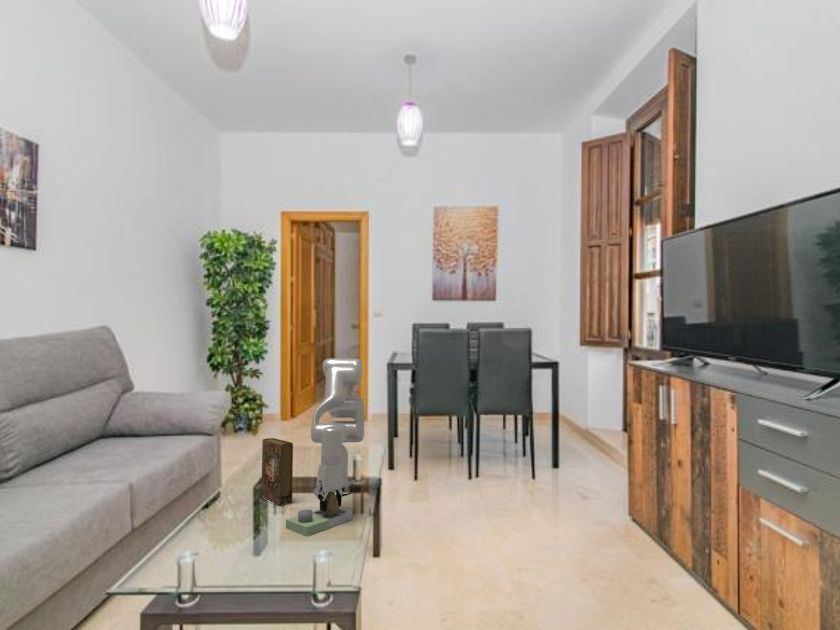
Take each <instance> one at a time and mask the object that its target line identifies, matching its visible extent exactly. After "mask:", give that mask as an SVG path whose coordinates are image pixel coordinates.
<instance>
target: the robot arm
mask: <svg viewBox="0 0 840 630" xmlns="http://www.w3.org/2000/svg"><path fill="white" fill-rule="evenodd" d="M322 371H323V372H322V373H323V374H324V377H325V388H324V389H325V391H324V400H322V402H320V404H318V406H317V407H316V408H315V410H314V411H313V414H312V418H311V426H310V438H311V441H312V442H313V443H316V444H320V445H321V449H320V451H321V453H320V456H321V460H320V464H319V465H318V468H317V469H318V470H317V476H316V487H315V488H314V489H313V491H312V493H313V494H314V495H315V496H316V498H318V500H319V510H321V511H324V512H325V511H326V510H327V501H326V500H325V499H326V496H327V493H329V492H336V497H337V500H338V505H339V508H341V507H342V495H343V492H344V491H345V490H346V489H347V488H348V487H349V486H350V485H351V484H353V483H355V482H356V480H349V479H348V477H349V476H348V475H349V474H348V473H349V472H348V471H349V452H348V449H347V448H346V446H345V445H344V444H345V443H361V442H362V441H363V440H364V437H365V403H364V399H363V398H362V397H360V396H357V395H356V396H349V390H348V389H349V386H358V385H359V384H360V383H361V381H362V375H363V363H362V360H361V359H359V358H354V357H353V358H352V357H351V358H349V357H348V358H345V357H344V358H343V357H342V358H341V357H335V358H332V357H331V358H327V359H324V360H323V362H322ZM327 412H328V413H329V414H328V415H330V417H332V418H339V419H343V418H344V419H346V418H351V419H354V420H333V421H329V422H324V423H320V420H321V417H323V415H324V414H326V413H327ZM343 443H344V444H343ZM355 484H356V483H355ZM351 486H352V485H351ZM351 486H350V487H351ZM350 487H349V488H350ZM323 493H324V494H323Z"/></svg>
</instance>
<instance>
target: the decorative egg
mask: <svg viewBox="0 0 840 630" xmlns="http://www.w3.org/2000/svg"><path fill="white" fill-rule="evenodd" d="M325 500H326V501H327V510H326V511H325V512H324V511H323V514H324V516H325V517H327V518H331V517H334V516H336V515H337V514H338V510H339V508H340V507H339V505H338V500H337V497H336V495H335V493H334V492H329V493H328V494H327V496H326V499H325Z"/></svg>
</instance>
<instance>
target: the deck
mask: <svg viewBox="0 0 840 630" xmlns="http://www.w3.org/2000/svg"><path fill="white" fill-rule="evenodd" d="M312 512H313V510H311V509H301V510H299V511H298V512H297V515H296V516H292V517H289V518H287V519H285V529H287V530H289V531H292V532H295V533H298V534H299V535H303V536H304V537H308V536H311V535H314V534H317V533H319V532H320V533H321V532H323V531H326V530H328V529H330V528H329V520H328V519H325V518H322V517H319V516H316V515H314V514H312Z"/></svg>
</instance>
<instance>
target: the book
mask: <svg viewBox="0 0 840 630" xmlns="http://www.w3.org/2000/svg"><path fill="white" fill-rule="evenodd" d="M261 443H262V446H261V447H262V450H261V454H262V456H261V484H260V485H261V492H260V493H261V494H260V495H262V496H264V497H265V498H266V499H267V500H269V501H271V502H273V503H275V504H277V505H276V506H278V505H279V507H281V506H282V505H286V504H285V503H287V504H292V503H293V477H294V476H293V474H294V473H293V472H294V470H293V469H294V467H293V465H294V462H293V461H294V443H293V442H292V441H288V440H283V439H280V438H273V437H270V438H269V437H268V438H264V439H262V442H261ZM275 504H274V505H275Z"/></svg>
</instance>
